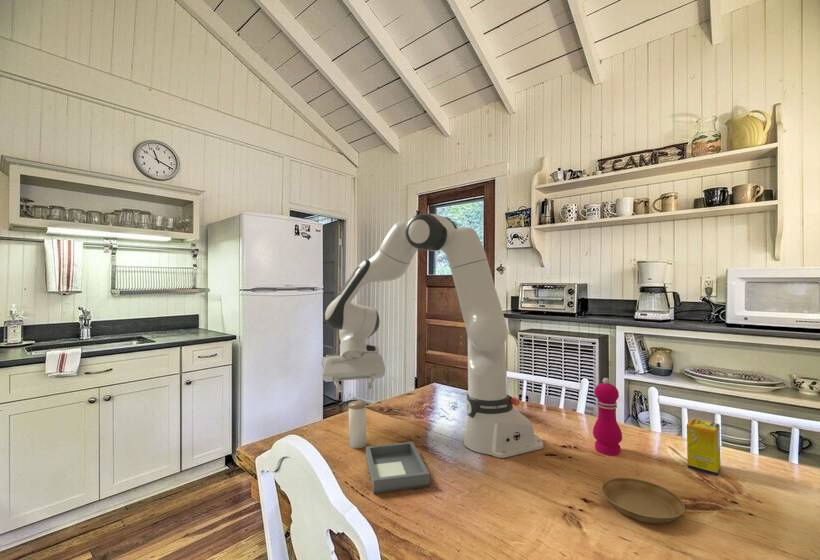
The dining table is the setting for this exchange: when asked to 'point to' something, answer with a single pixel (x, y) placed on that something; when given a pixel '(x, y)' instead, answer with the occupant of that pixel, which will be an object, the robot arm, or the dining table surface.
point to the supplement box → (703, 446)
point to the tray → (396, 467)
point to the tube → (357, 424)
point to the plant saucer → (643, 500)
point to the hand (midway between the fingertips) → (355, 390)
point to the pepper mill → (607, 420)
